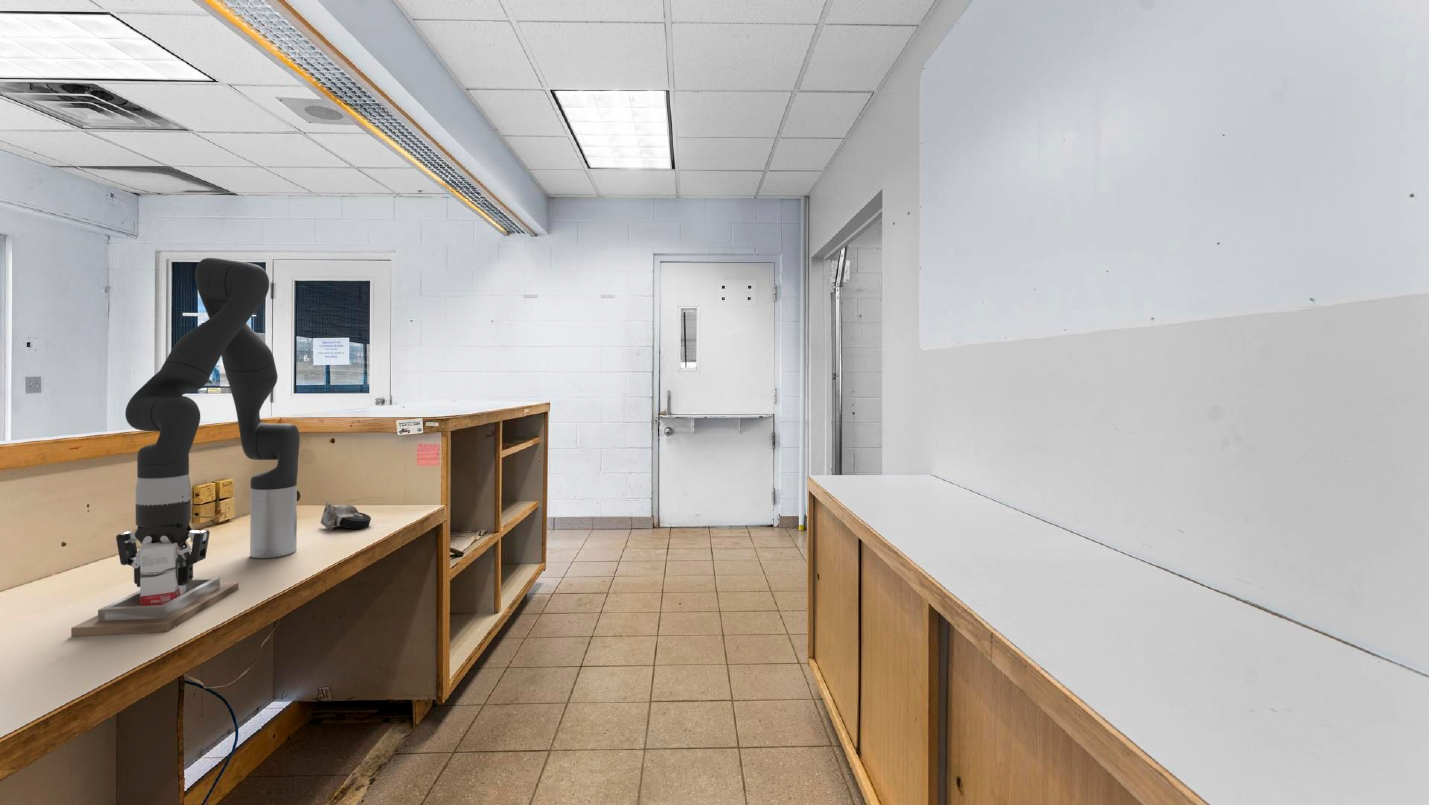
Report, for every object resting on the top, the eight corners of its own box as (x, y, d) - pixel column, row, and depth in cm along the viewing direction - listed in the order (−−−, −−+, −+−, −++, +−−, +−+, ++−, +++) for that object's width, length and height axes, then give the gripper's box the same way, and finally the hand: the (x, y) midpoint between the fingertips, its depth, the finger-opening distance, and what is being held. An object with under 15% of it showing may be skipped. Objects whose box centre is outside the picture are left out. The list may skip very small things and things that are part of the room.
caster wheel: (372, 534, 168) (337, 537, 160) (352, 521, 174) (318, 523, 165) (378, 513, 168) (344, 515, 160) (358, 501, 174) (324, 501, 165)
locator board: (160, 592, 115) (160, 575, 115) (238, 589, 118) (238, 573, 118) (71, 636, 95) (71, 616, 95) (167, 631, 98) (167, 612, 98)
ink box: (175, 606, 104) (174, 545, 104) (138, 611, 102) (138, 548, 101) (187, 590, 112) (187, 533, 111) (153, 595, 109) (153, 536, 108)
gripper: (101, 503, 101) (102, 594, 101) (193, 503, 104) (194, 591, 104) (135, 494, 108) (135, 579, 109) (220, 494, 111) (220, 576, 112)
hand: (164, 584), depth 107 cm, fingers closed on ink box, 6 cm apart
